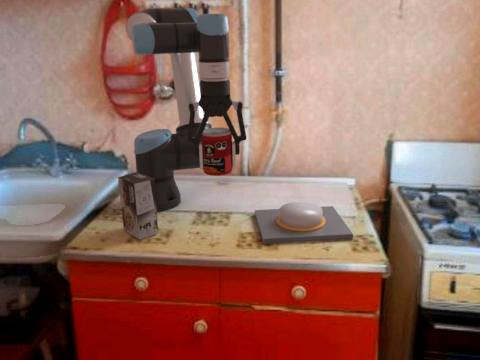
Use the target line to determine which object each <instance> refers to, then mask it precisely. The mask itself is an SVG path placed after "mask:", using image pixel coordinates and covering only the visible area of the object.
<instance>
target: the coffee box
mask: <svg viewBox="0 0 480 360" xmlns="http://www.w3.org/2000/svg"><path fill="white" fill-rule="evenodd" d="M117 181H118V189H119V199H120V207H121V215H122V225H123V231H125V232H126V233H128V234H129V235H131V236H133V237H135V238H136V239H138V240H143V239H145V238H148V237H152V236H154V235H155V236H156V235H157V234H159V225H158V224H159V223H158V214H157V212H158V211H157V210H156V197H155V184H154V178H151V177H149V176H146V175H144V174H141V173H139V172H131V173H128V174H125V175H121V176H118V177H117Z"/></svg>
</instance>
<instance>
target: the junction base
mask: <svg viewBox="0 0 480 360" xmlns="http://www.w3.org/2000/svg"><path fill="white" fill-rule="evenodd" d="M253 211H254V212H253V213H254V214H253V215H254V218H255V221H256V225H257V228H258V231H259V234H260V238H261V242H262V244H263V245H269V244H270V245H271V244H289V243H306V242H310V243H311V242H320V241H321V242H322V241H323V242H324V241H327V242H328V241H341V240H342V241H343V240H345V241H346V240H353V239H354V233H353V232H352V231H351V229H350V227H348V225H347V224H346V222H345V220H343V218H342V216H340V214H339V213H338V211H337V210H336V208H335V207H334V206H333V205H331V206H329V205H328V206H319V205H318V204H315V203H312V202H305V201H295V202H288V203H285V204H283V205H281V206H279V208H270V209H254V210H253Z"/></svg>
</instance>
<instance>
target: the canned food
mask: <svg viewBox="0 0 480 360" xmlns="http://www.w3.org/2000/svg"><path fill="white" fill-rule="evenodd" d="M232 141H233V136H232V134H231V131H230V130H229V128H228V127H212V128H208V129H205V130H204V131H203V132H202V156H203V169H202V170H203V173H204V174H206V175H207V176H215V177H216V176H218V177H219V176H225V175H228V174H230V173H231V172H232V171H233V169H234V168H233V166H232Z"/></svg>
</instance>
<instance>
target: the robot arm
mask: <svg viewBox="0 0 480 360" xmlns="http://www.w3.org/2000/svg"><path fill="white" fill-rule="evenodd" d="M125 32H126V35H127V37H128V38H129V40H130V41H132V42H131V44H132V49H133V52H134V54H136V55H145V56H150V55H163V54H164V55H165V54H166V55H170V62H171V68H172V69H171V71H172V76H173V77H172V78H173V85H174V91H175V99H176V105H177V114H178V121H179V123H178V125H177V126H176V128H175V133H172V131H171V130H170V129H168V128H162V129H161V128H158V129H157V128H156V129H151V130H147V131H145V132H144V131H143V132H141V133H140V134H137V136H136V137H135V138H134V140H133V144H134V145H133V146H134V147H133V148H134V150H133V153H134V159H135V170H136V172H139V173H141V174H144V175H146V176H149V177H151V178H154V184H155V197H156V210H157V212H158V211H159V212H160V211H166V210H170V209H174V208H176V207H178V206H179V205H180V204H181V202H182V199H181V198H182V197H181V193H180V190H179V188H178V185H177V182H176V180H175V174H174V172H175V171H182V170H183V171H184V170H193V169H200V170H203V156H202V132H203V131H204V130H205V129H208V128H213V127H212V123H211V122H210V121H209V119H210V118H214V117H219V118H222V117H223V119H224V121H225V123H226V125H227V128H228V129H229V130H230V131H231V134H232V139H233V140H232V166H233V168H232V169H236V166H237V165H236V163H237V162H236V160H237V159H236V155H238V156H239V155H240V154H241V153H240V152H241V150H240V149H241V148H240V143H241V142H244V141H246V140H247V134H246V129H245V123H244V119H243V118H244V117H243V105H244V104H243V102H242V101H241V100H238V101H237V100H232V98H231V81H230V80H229V78H230V76H231V74H230V73H231V72H230V69H231V68H230V39H229V38H230V37H229V36H230V33H229V32H230V27H229V18H228V16H227V14H225V13H200V14H199V12H198V11H197V10H196V9H195V8H193V7H184V6H183V7H178V8H177V7H168V8H167V7H164V8H163V7H162V8H161V7H160V8H159V7H158V8H156V7H155V8H154V7H152V8H145V9H142V10H139V11H137V12H134V13H133V14H131V15H130V16H128V18H127V21H126V23H125ZM197 53H198V58H197ZM232 106H233V109H234V110H235V111H236V117H237V122H238V128H239V133H240V135H239V134H238V133H237V131H236V129H235V127H234V124H233V123H232V120H231V119H230V116H229V113H228V111H229V110H230V109H231V107H232Z"/></svg>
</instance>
